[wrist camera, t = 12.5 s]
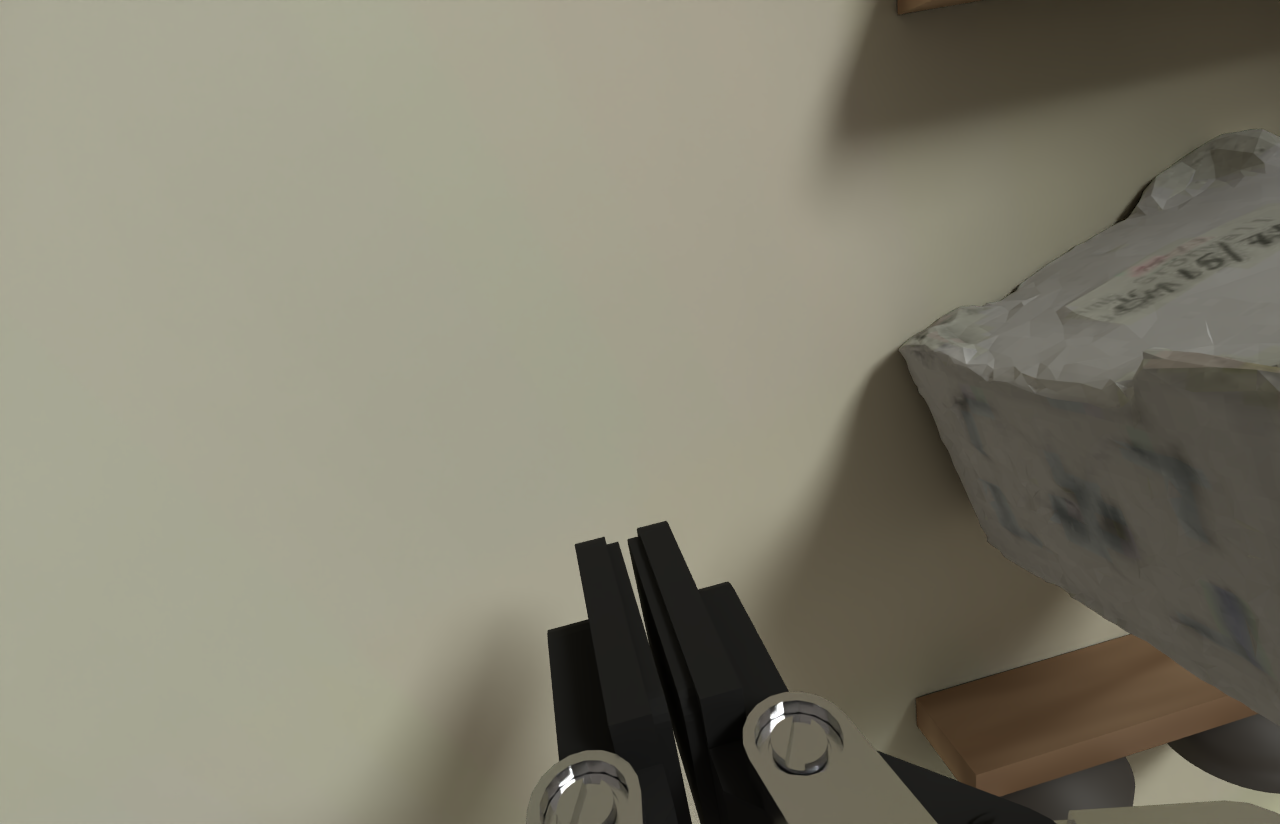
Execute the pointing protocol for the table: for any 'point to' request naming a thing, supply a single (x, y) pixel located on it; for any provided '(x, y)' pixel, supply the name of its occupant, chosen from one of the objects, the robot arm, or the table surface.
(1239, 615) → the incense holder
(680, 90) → the table surface
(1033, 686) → the chassis bay
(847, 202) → the table surface
